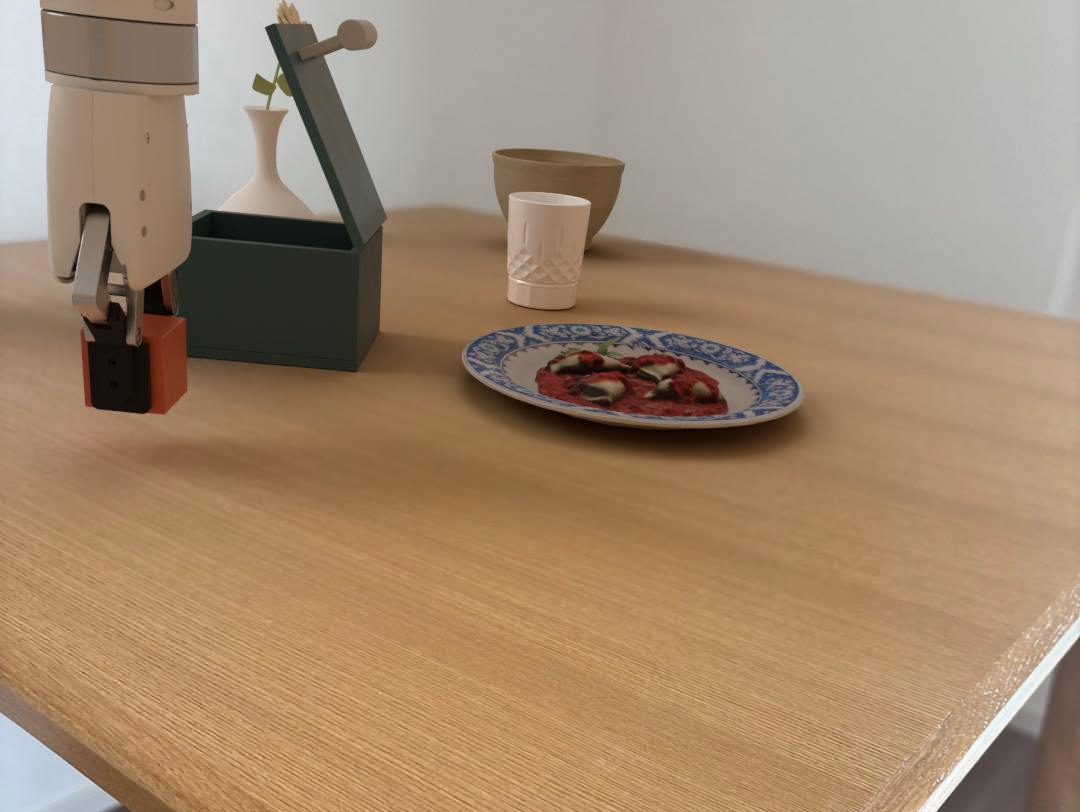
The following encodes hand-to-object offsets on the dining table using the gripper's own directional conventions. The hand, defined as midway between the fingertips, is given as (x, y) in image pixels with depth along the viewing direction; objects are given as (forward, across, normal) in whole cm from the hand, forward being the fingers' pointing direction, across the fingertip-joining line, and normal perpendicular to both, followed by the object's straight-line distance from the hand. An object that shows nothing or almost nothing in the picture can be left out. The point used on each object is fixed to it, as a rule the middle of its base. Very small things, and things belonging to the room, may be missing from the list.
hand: (137, 392), depth 66 cm
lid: (-12, -26, +6) cm, 29 cm away
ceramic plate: (+3, -20, +30) cm, 36 cm away
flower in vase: (+5, -73, -8) cm, 73 cm away
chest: (+4, -26, +2) cm, 26 cm away
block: (0, 0, 0) cm, 0 cm away
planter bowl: (+4, -81, +25) cm, 84 cm away
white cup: (+4, -49, +24) cm, 54 cm away
